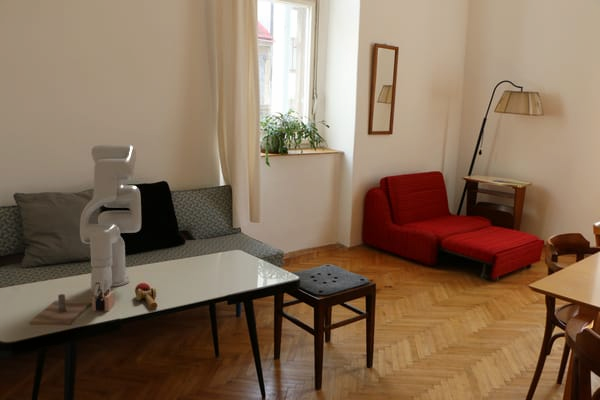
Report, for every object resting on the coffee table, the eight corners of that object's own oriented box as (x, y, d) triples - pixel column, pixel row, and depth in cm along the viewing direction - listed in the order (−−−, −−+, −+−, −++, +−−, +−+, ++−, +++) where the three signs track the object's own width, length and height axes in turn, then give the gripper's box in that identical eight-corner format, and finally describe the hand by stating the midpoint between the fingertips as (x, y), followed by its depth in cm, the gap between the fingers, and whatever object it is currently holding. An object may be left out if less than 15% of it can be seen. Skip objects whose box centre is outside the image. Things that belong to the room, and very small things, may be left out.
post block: (55, 303, 205) (54, 285, 204) (91, 303, 205) (91, 286, 204) (30, 323, 185) (28, 304, 184) (70, 324, 186) (69, 305, 184)
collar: (98, 305, 204) (98, 291, 203) (114, 305, 204) (113, 291, 203) (92, 310, 198) (92, 296, 197) (108, 311, 198) (108, 297, 197)
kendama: (165, 310, 204) (151, 290, 219) (163, 296, 202) (149, 277, 216) (145, 317, 201) (132, 296, 215) (143, 303, 198) (130, 283, 213)
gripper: (100, 254, 207) (101, 298, 210) (82, 267, 190) (84, 315, 193) (119, 255, 207) (120, 299, 210) (103, 268, 190) (105, 316, 193)
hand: (103, 306), depth 201 cm, fingers closed on collar, 6 cm apart
